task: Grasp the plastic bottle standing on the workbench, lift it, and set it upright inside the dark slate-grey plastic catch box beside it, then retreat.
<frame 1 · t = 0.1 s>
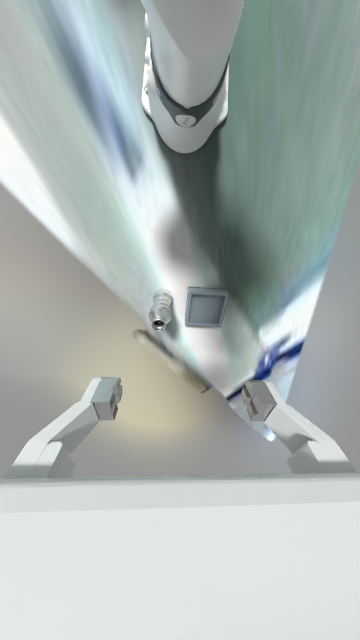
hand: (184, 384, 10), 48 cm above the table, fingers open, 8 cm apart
catch box: (204, 305, 61), on the table
plastic bottle: (163, 295, 58), on the table
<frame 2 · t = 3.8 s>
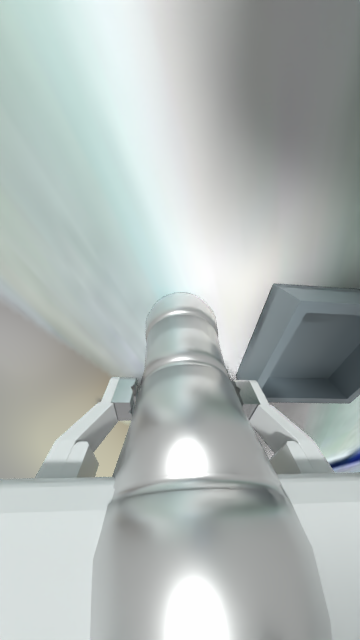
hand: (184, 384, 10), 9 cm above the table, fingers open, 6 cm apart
catch box: (304, 340, 20), on the table
plastic bottle: (180, 312, 17), on the table, touching arm, gripper
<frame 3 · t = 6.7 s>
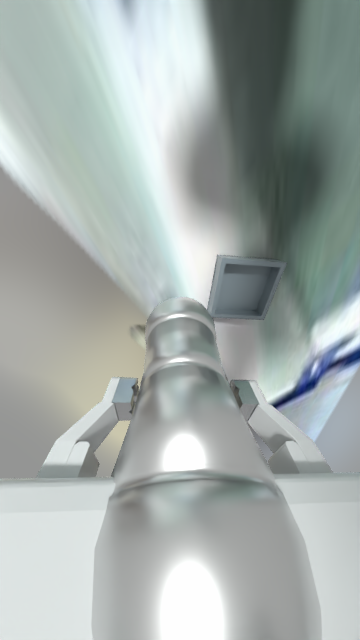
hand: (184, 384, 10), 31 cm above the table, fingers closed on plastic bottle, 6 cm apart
catch box: (239, 286, 39), on the table
plastic bottle: (179, 316, 18), point 22 cm above the table, touching gripper
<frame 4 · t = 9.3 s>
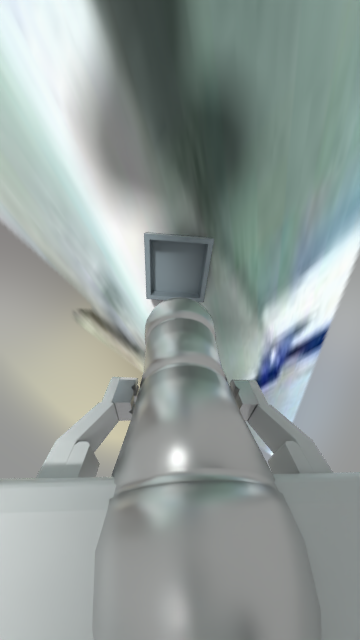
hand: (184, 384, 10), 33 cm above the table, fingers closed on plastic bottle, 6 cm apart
catch box: (176, 267, 38), on the table
plastic bottle: (179, 316, 18), point 24 cm above the table, touching gripper
when the fingers open (10 cm above the table, at t = 13.7 s): plastic bottle moves 1 cm, resting on catch box.
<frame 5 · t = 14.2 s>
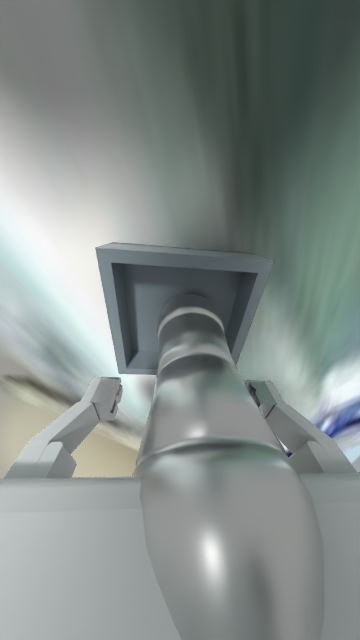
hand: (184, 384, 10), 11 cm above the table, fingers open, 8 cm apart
catch box: (179, 310, 19), on the table
plastic bottle: (187, 312, 18), point 1 cm above the table, touching catch box, gripper
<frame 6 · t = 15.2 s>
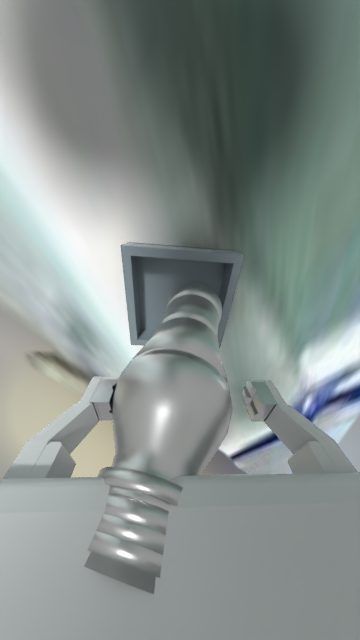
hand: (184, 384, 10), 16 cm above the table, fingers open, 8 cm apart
catch box: (178, 295, 25), on the table
plastic bottle: (196, 300, 22), point 3 cm above the table, touching gripper
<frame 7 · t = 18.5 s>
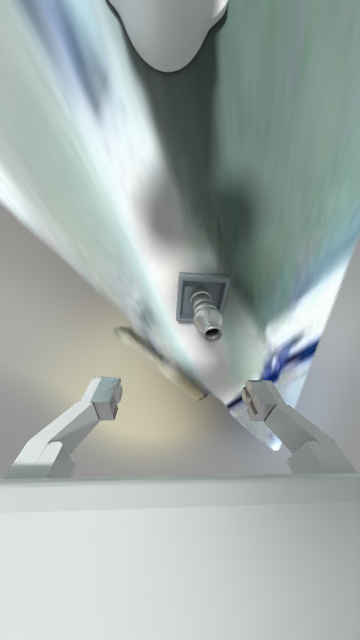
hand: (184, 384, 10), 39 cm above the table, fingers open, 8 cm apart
catch box: (199, 296, 49), on the table
plastic bottle: (199, 295, 48), point 1 cm above the table, touching catch box
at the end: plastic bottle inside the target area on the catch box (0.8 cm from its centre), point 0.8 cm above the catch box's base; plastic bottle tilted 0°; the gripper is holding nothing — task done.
